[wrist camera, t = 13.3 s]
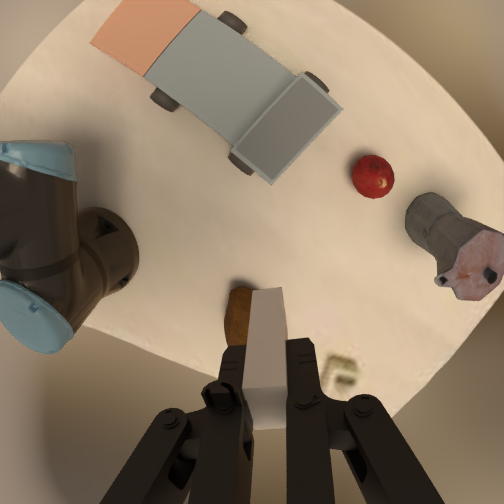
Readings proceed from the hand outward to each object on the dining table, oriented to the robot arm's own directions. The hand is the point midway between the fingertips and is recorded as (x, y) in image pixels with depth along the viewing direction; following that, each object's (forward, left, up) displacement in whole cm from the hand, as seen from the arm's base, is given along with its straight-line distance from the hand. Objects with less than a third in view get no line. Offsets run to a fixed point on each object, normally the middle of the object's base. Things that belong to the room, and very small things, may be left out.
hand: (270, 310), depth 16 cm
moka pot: (+25, -7, -30) cm, 39 cm away
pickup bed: (-2, +15, -29) cm, 33 cm away
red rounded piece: (+14, +1, -30) cm, 33 cm away
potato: (-6, -20, -30) cm, 36 cm away
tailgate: (-9, +23, -25) cm, 36 cm away
